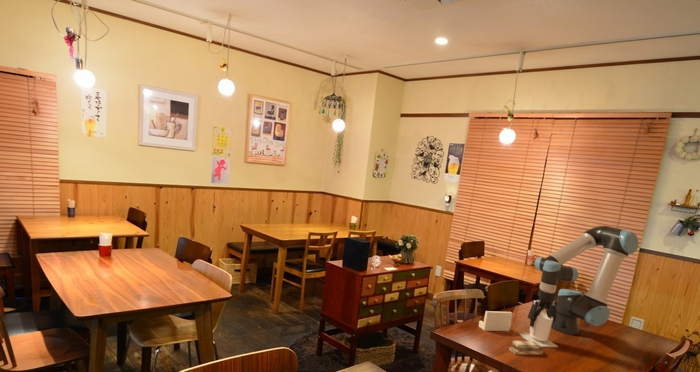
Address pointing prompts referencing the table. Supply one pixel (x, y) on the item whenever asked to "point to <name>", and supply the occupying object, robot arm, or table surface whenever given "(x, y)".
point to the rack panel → (496, 321)
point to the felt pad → (541, 343)
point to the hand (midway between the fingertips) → (539, 332)
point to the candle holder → (542, 327)
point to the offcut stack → (526, 347)
